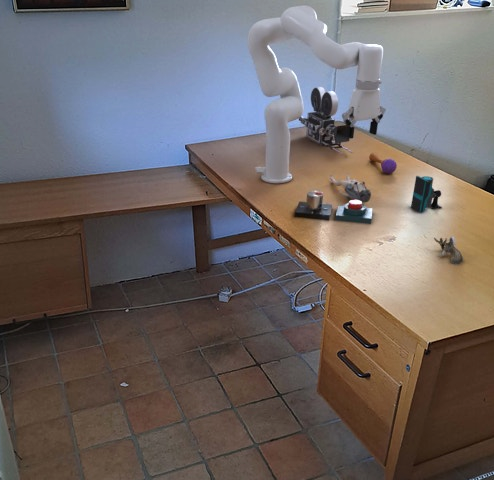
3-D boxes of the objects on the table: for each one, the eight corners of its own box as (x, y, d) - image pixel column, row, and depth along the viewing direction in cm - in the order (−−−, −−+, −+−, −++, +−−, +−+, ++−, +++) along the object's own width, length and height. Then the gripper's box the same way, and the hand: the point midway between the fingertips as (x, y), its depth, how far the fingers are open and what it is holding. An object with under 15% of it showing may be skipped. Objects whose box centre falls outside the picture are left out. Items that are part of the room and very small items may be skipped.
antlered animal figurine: (426, 248, 170) (443, 257, 161) (439, 228, 168) (457, 236, 160) (443, 259, 172) (461, 268, 164) (457, 239, 171) (475, 247, 162)
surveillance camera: (450, 176, 192) (425, 180, 189) (443, 208, 198) (419, 213, 195) (439, 171, 196) (415, 175, 194) (433, 203, 203) (409, 207, 200)
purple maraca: (380, 150, 244) (400, 161, 226) (377, 164, 246) (396, 176, 229) (368, 149, 243) (387, 159, 225) (364, 162, 245) (383, 174, 227)
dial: (304, 210, 195) (306, 194, 192) (307, 204, 200) (308, 189, 197) (321, 211, 194) (322, 196, 191) (322, 205, 198) (324, 190, 195)
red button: (347, 209, 191) (348, 203, 190) (348, 204, 195) (349, 199, 194) (361, 210, 190) (361, 205, 189) (361, 205, 193) (362, 200, 192)
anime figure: (351, 168, 223) (380, 185, 195) (350, 186, 226) (378, 206, 198) (328, 170, 222) (354, 187, 195) (327, 188, 225) (352, 207, 198)
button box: (335, 220, 192) (336, 209, 190) (337, 210, 199) (338, 200, 197) (370, 224, 189) (372, 213, 187) (372, 213, 196) (373, 203, 194)
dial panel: (294, 217, 195) (294, 211, 194) (298, 206, 203) (299, 200, 202) (329, 220, 192) (329, 214, 191) (332, 209, 200) (332, 203, 199)
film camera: (295, 135, 282) (298, 86, 270) (316, 132, 285) (320, 84, 273) (333, 158, 249) (338, 103, 237) (356, 155, 252) (363, 101, 240)
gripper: (381, 80, 192) (374, 130, 201) (339, 85, 186) (334, 136, 195) (395, 84, 186) (388, 135, 195) (352, 89, 180) (346, 141, 189)
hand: (361, 135), depth 195 cm, fingers open, 9 cm apart
